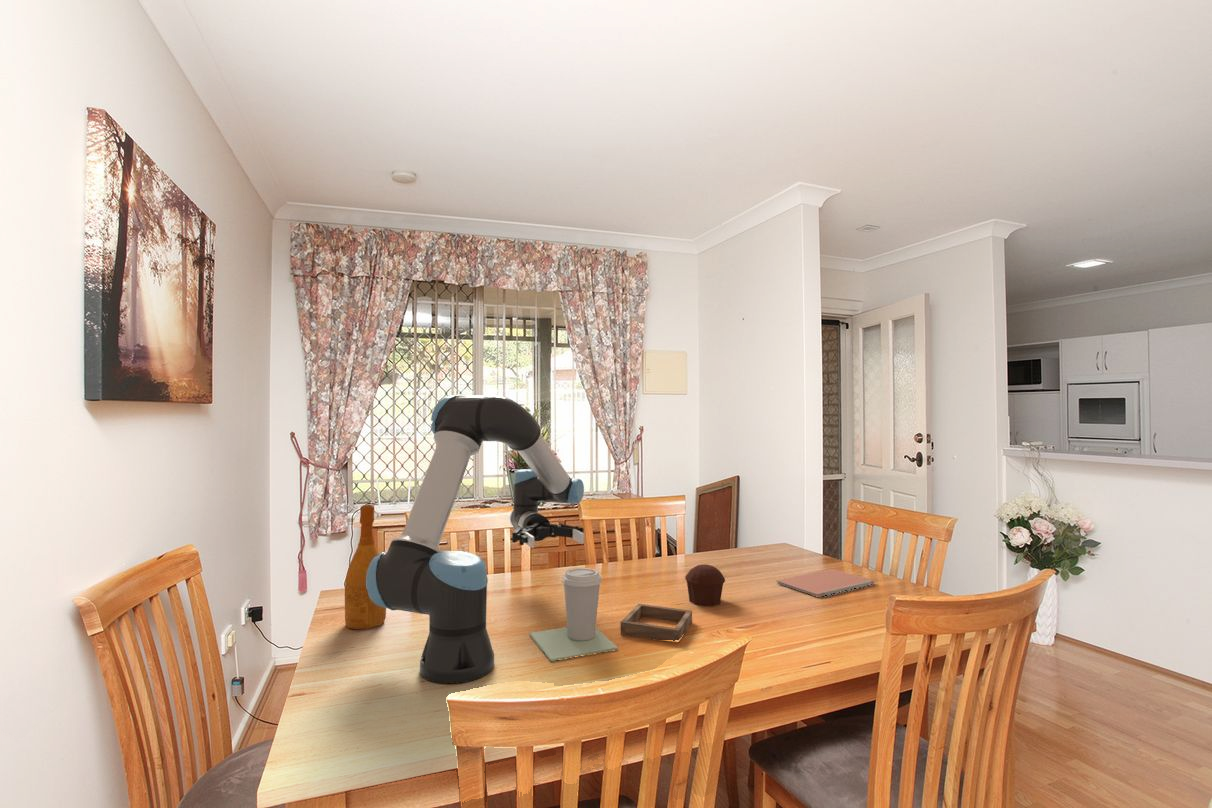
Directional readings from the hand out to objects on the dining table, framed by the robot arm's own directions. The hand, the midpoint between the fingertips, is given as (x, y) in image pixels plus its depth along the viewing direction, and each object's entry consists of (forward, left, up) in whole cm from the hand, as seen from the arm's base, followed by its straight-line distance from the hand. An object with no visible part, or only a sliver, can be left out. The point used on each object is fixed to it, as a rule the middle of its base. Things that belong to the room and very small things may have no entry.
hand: (558, 540), depth 150 cm
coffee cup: (-9, -11, -20) cm, 24 cm away
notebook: (+59, -65, -21) cm, 91 cm away
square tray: (+4, -26, -20) cm, 33 cm away
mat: (-12, -10, -20) cm, 26 cm away
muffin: (+29, -33, -21) cm, 48 cm away
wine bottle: (-21, +43, -21) cm, 52 cm away
